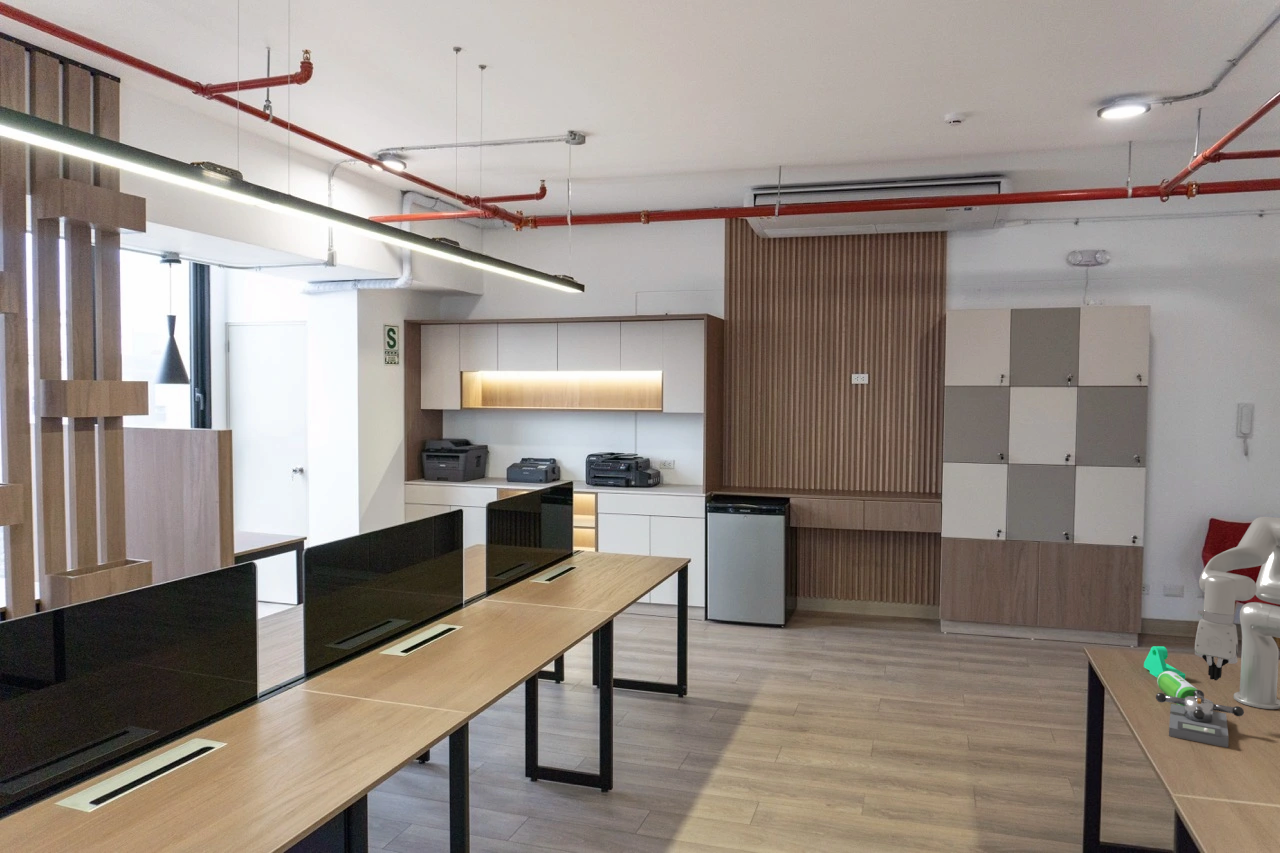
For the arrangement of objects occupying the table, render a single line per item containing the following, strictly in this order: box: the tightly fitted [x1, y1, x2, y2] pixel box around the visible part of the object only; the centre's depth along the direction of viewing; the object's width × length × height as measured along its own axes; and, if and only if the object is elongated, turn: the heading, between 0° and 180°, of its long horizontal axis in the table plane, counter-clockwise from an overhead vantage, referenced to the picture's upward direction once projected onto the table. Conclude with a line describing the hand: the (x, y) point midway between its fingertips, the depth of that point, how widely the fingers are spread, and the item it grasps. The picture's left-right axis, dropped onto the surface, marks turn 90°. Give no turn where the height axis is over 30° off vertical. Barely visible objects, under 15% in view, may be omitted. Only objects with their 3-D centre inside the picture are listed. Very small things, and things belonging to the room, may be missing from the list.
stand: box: [1168, 703, 1229, 748], centre depth 251 cm, size 22×14×5 cm, turn 147°
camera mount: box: [1143, 645, 1186, 680], centre depth 297 cm, size 12×8×10 cm, turn 179°
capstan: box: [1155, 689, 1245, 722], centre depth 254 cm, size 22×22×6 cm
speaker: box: [1156, 671, 1199, 706], centre depth 273 cm, size 18×7×8 cm, turn 170°
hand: (1214, 678), depth 257 cm, fingers closed
